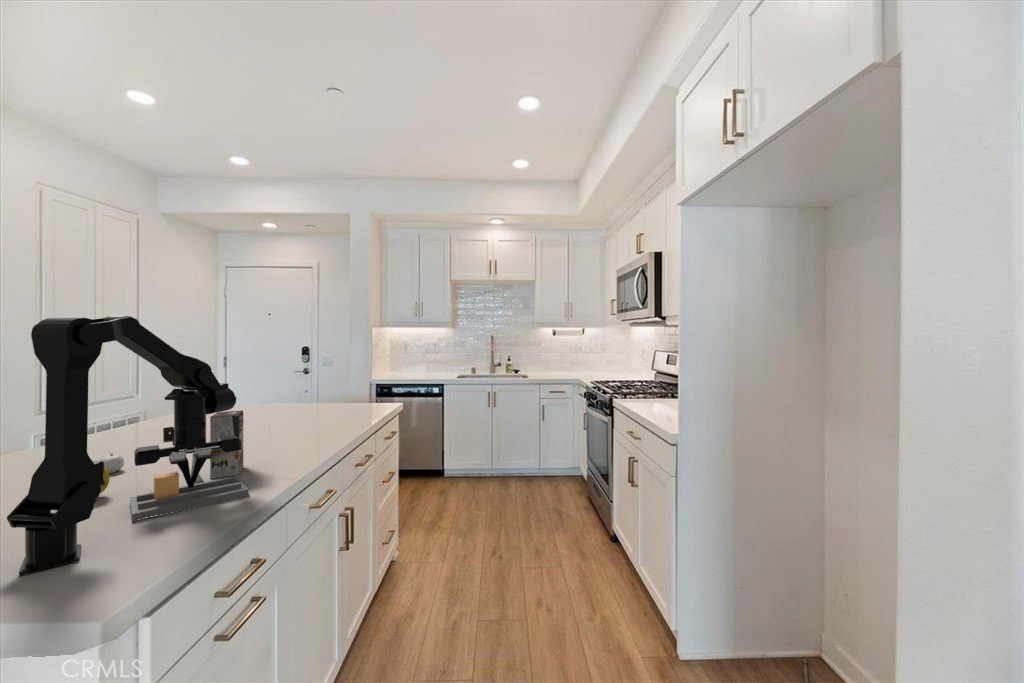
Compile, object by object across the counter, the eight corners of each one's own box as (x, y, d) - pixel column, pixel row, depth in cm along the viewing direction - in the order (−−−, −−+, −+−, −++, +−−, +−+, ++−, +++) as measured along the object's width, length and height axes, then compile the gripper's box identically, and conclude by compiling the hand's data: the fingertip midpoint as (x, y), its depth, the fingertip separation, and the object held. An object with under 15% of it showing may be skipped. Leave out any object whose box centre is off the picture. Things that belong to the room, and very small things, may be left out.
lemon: (88, 503, 93) (87, 467, 93) (68, 501, 94) (68, 465, 94) (116, 494, 98) (115, 460, 98) (97, 492, 100) (97, 458, 100)
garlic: (105, 470, 117) (105, 451, 117) (129, 468, 119) (129, 449, 119) (91, 476, 111) (91, 457, 111) (116, 474, 113) (116, 455, 113)
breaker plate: (248, 495, 98) (248, 485, 98) (132, 521, 84) (131, 509, 84) (237, 483, 106) (237, 473, 106) (130, 504, 92) (129, 493, 92)
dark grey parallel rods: (206, 489, 102) (206, 483, 102) (167, 497, 97) (167, 491, 97) (199, 478, 110) (199, 473, 110) (162, 485, 105) (162, 479, 105)
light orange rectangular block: (179, 497, 92) (178, 474, 92) (155, 502, 89) (154, 478, 89) (177, 493, 95) (177, 471, 95) (153, 498, 92) (153, 475, 92)
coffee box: (238, 475, 112) (238, 415, 112) (209, 479, 109) (209, 417, 109) (244, 466, 120) (243, 409, 120) (217, 469, 118) (216, 411, 118)
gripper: (232, 409, 107) (232, 470, 107) (133, 418, 94) (133, 488, 94) (241, 414, 99) (242, 481, 99) (135, 425, 86) (135, 502, 86)
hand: (190, 487), depth 95 cm, fingers closed
